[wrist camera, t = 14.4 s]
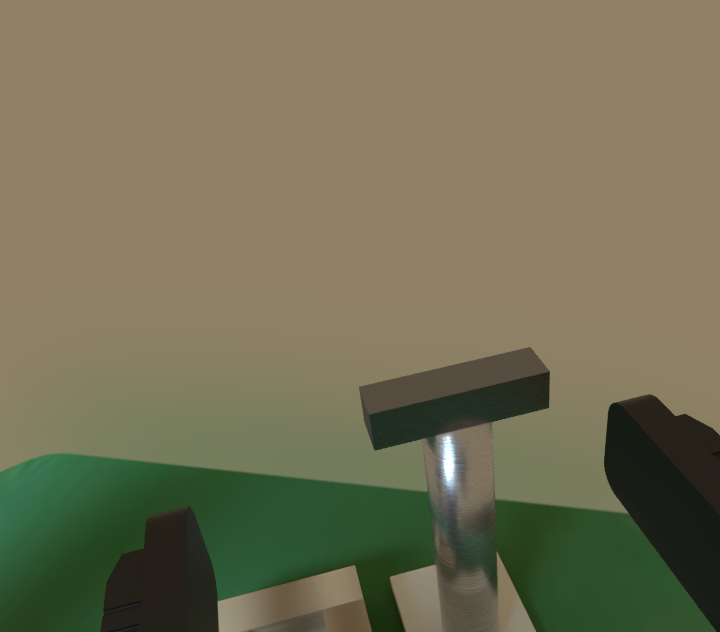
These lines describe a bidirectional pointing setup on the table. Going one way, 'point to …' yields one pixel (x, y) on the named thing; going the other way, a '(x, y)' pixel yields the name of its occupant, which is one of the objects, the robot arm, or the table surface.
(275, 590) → the slot block
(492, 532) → the t key
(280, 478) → the table surface
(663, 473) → the robot arm
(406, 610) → the beige flat plate
